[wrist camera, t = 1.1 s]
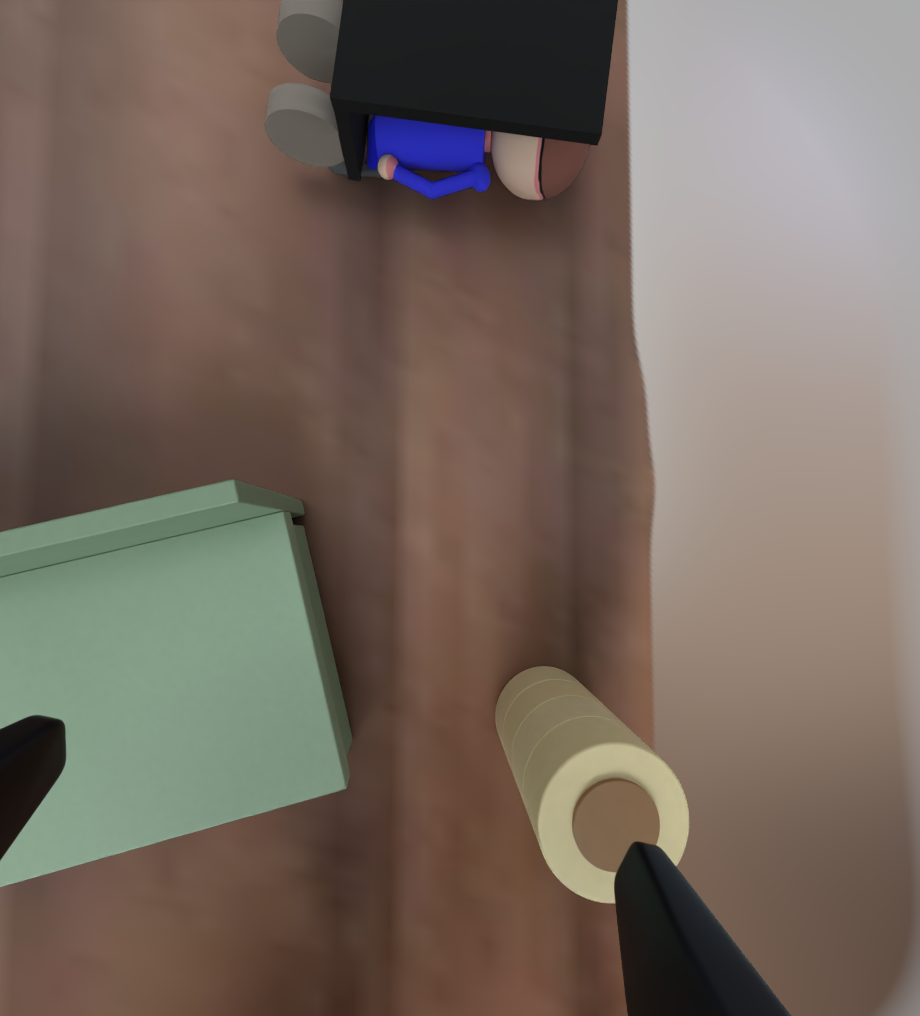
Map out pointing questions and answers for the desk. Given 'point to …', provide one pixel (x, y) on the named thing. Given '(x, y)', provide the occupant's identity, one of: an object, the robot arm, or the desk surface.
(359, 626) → the desk surface
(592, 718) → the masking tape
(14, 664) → the shelf
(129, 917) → the desk surface
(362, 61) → the figurine character
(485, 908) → the desk surface
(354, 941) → the desk surface
